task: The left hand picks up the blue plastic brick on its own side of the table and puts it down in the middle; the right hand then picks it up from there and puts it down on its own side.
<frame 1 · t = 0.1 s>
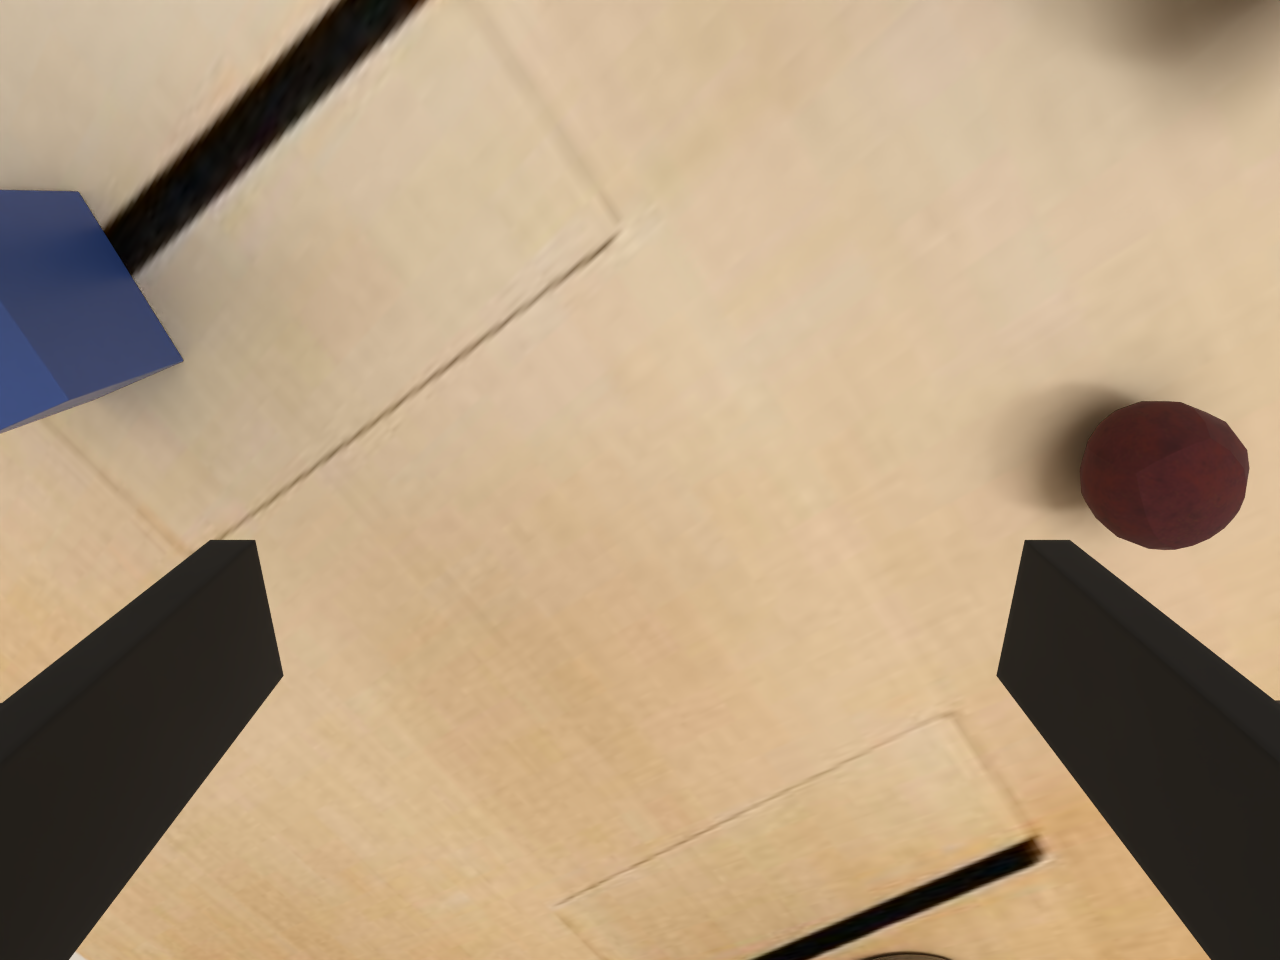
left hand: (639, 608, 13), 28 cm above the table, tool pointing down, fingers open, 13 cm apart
brick: (85, 300, 38), on the table
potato: (1116, 450, 41), on the table
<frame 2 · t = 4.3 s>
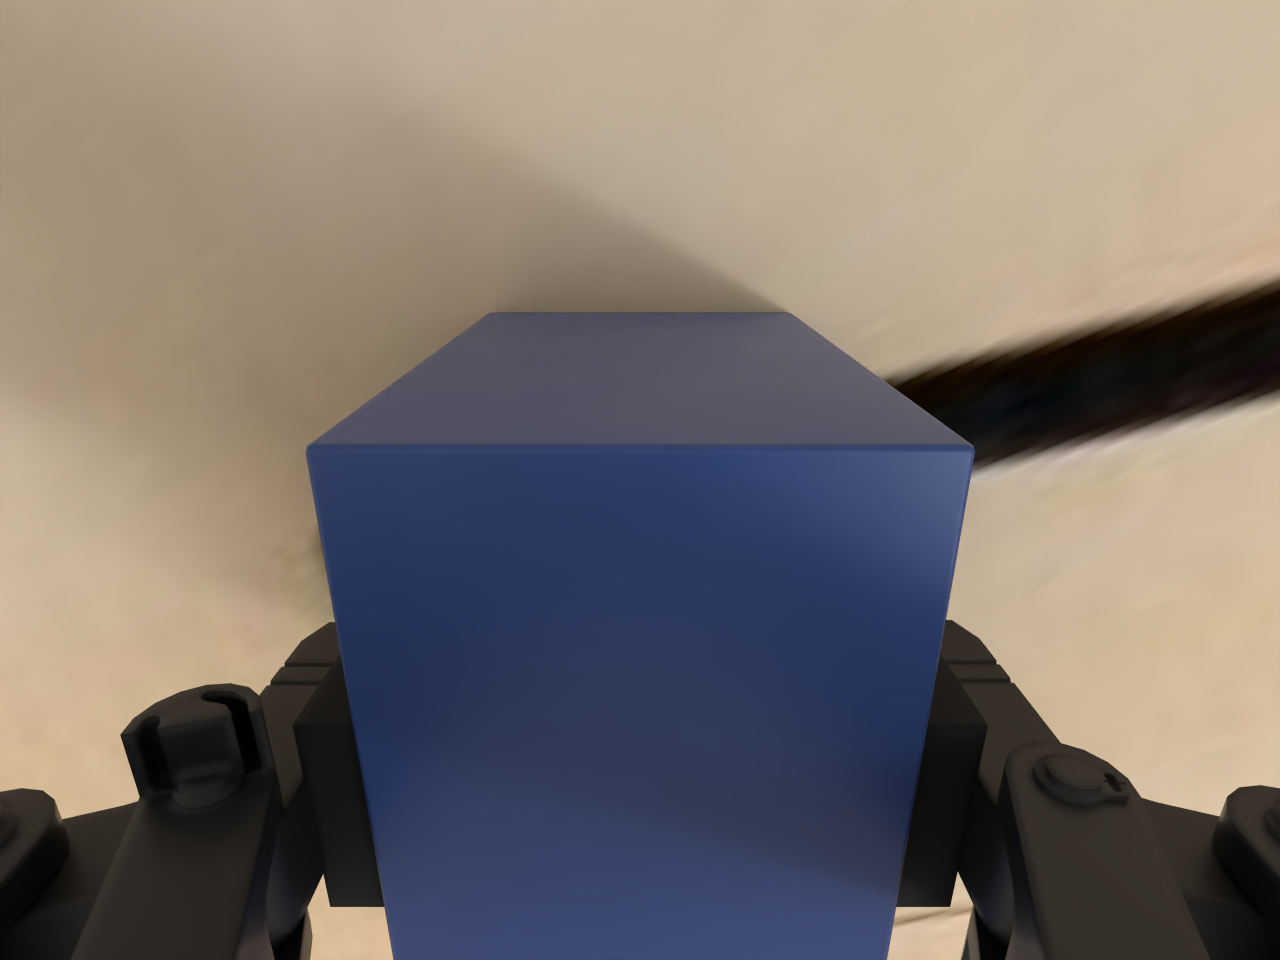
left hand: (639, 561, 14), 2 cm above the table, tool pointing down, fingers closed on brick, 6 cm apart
brick: (640, 523, 16), on the table, touching left hand
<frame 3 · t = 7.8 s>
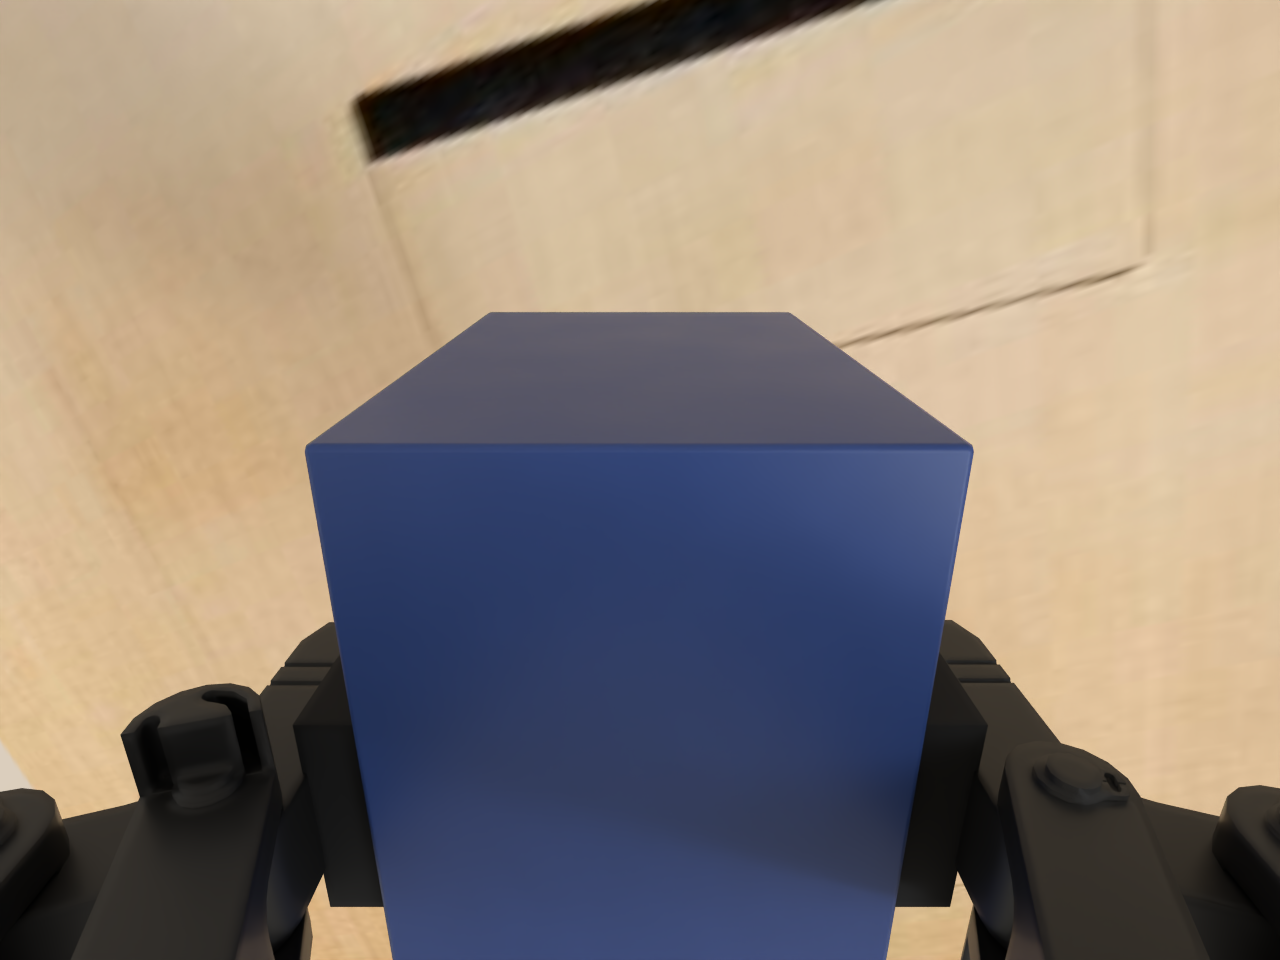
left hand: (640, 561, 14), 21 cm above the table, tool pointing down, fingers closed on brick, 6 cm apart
brick: (639, 523, 16), point 19 cm above the table, touching left hand
when the left hand's fingers open (3 cm above the table, at t = 11.3 s): brick drops 2 cm, on the table.
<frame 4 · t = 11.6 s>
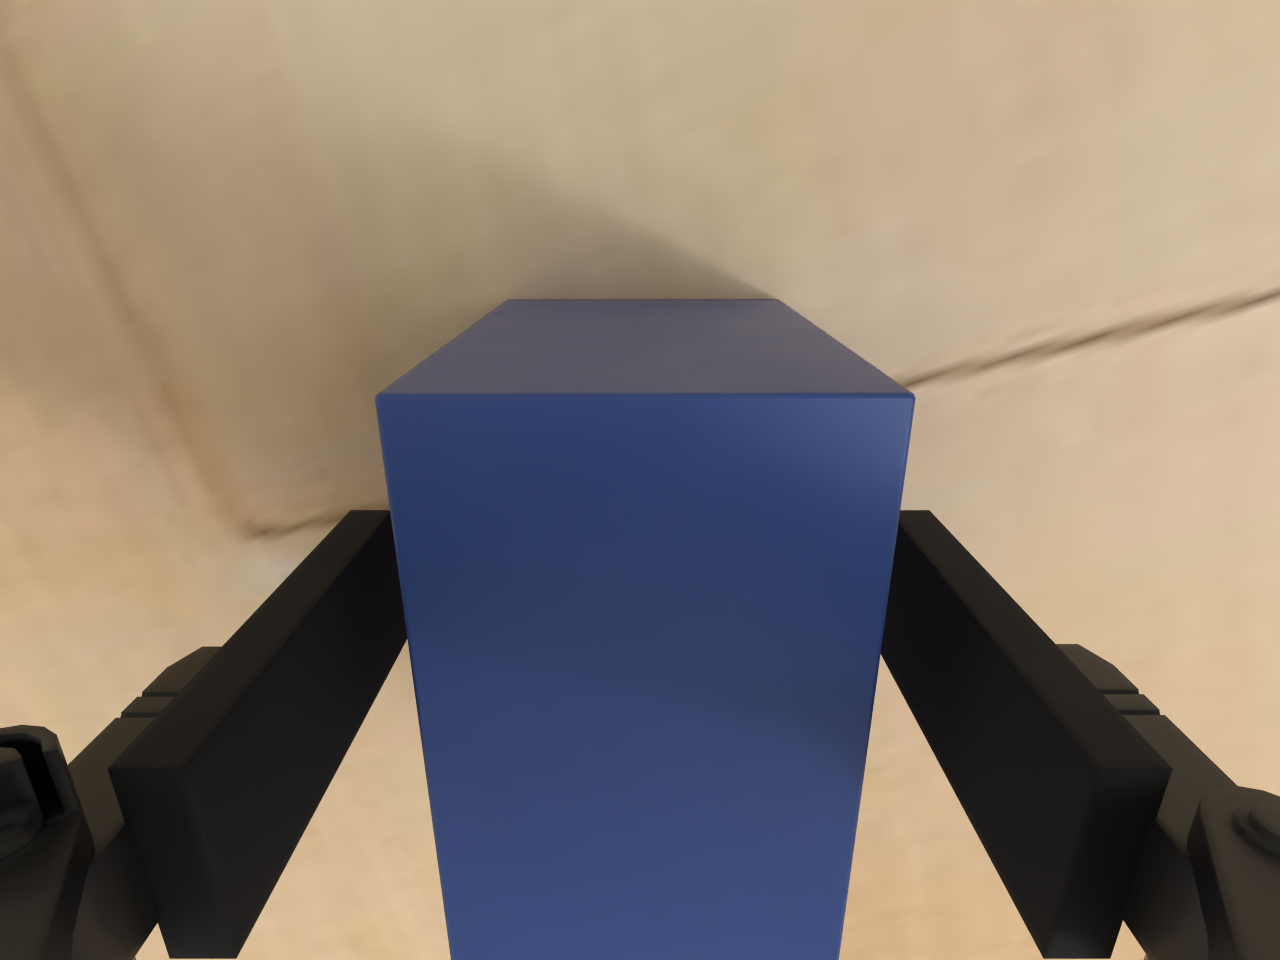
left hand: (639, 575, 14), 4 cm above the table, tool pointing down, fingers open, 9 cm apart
brick: (643, 493, 18), on the table
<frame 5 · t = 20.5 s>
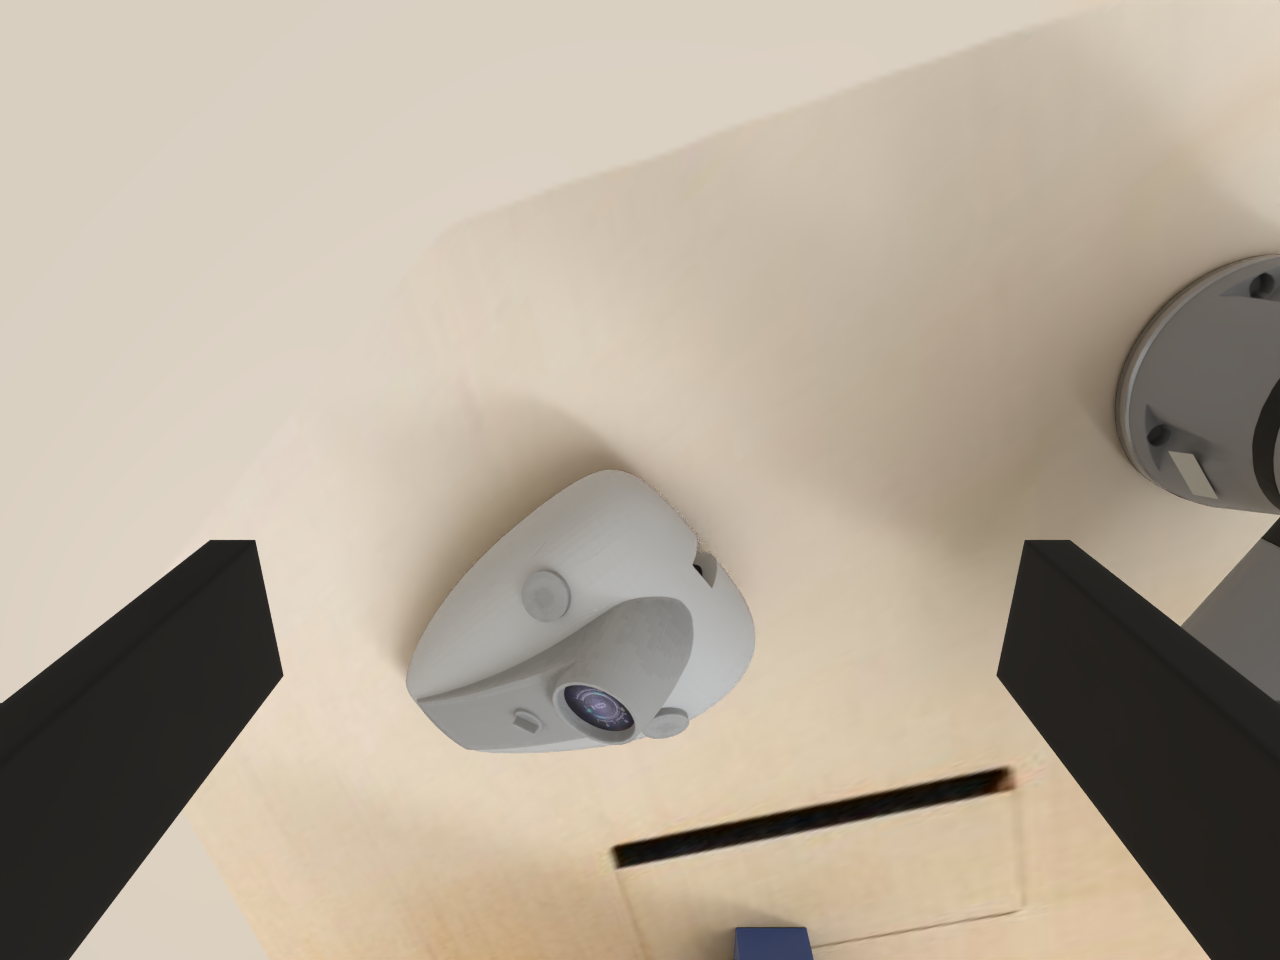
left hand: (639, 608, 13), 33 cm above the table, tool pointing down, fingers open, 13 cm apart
projector: (568, 613, 51), on the table
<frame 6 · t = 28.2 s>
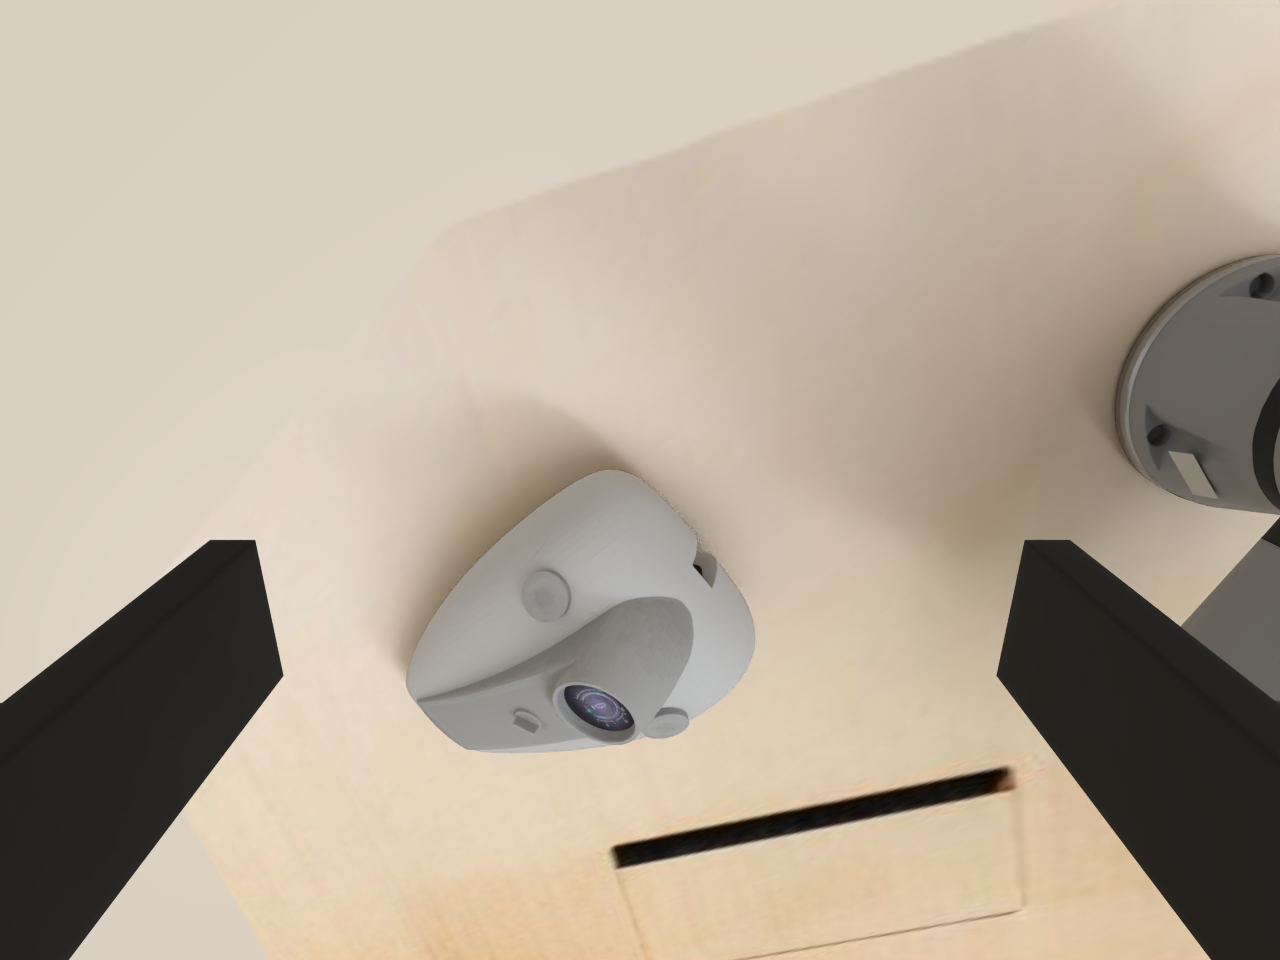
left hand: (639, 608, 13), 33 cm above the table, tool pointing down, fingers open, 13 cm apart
projector: (568, 613, 51), on the table
when the right hand's fingers open (3 cm above the table, at t = 35.8 s): brick drops 2 cm, on the table.
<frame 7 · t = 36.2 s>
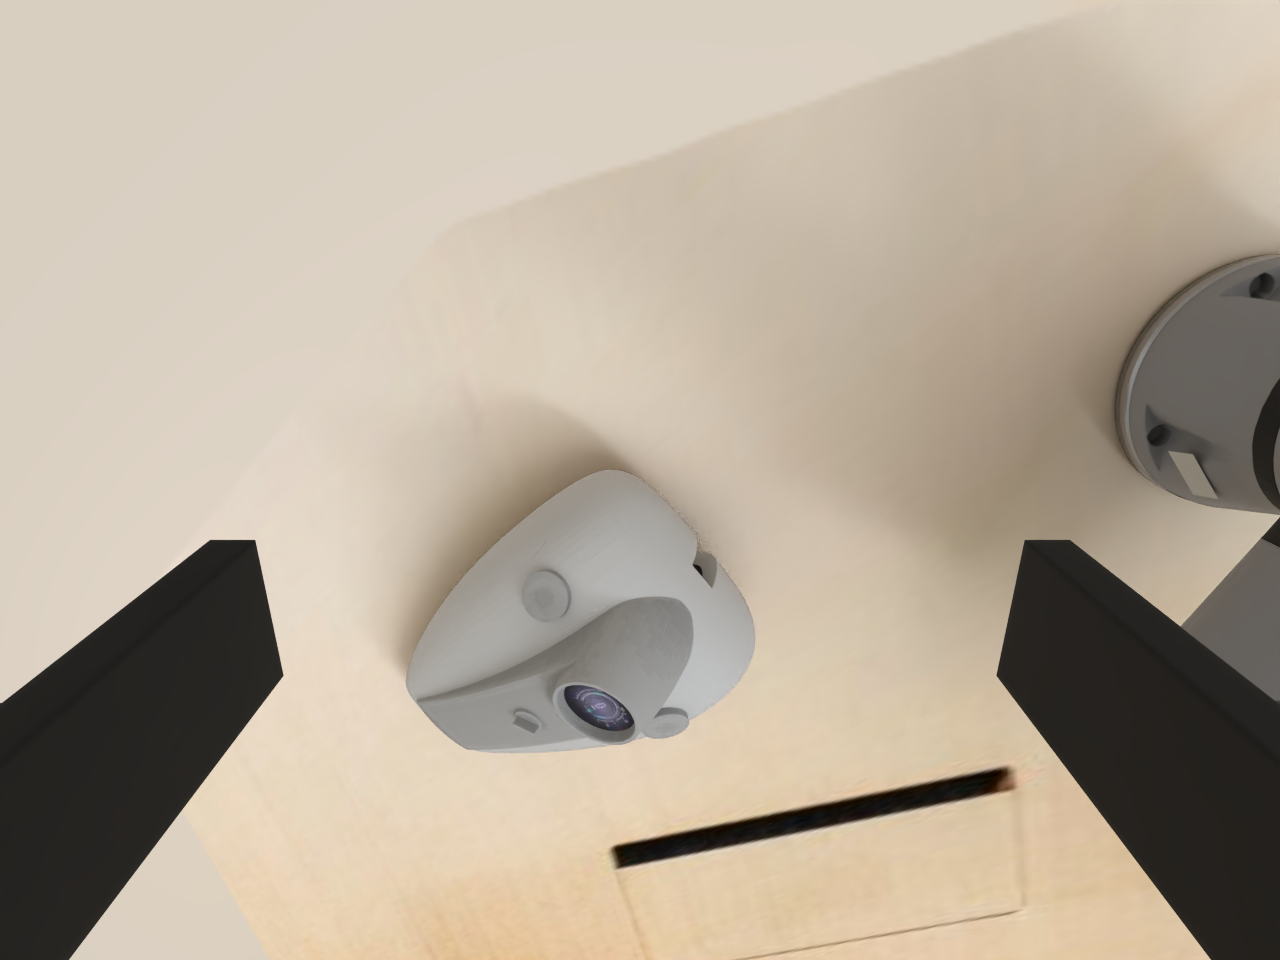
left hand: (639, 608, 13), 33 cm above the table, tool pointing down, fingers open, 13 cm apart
projector: (568, 613, 51), on the table
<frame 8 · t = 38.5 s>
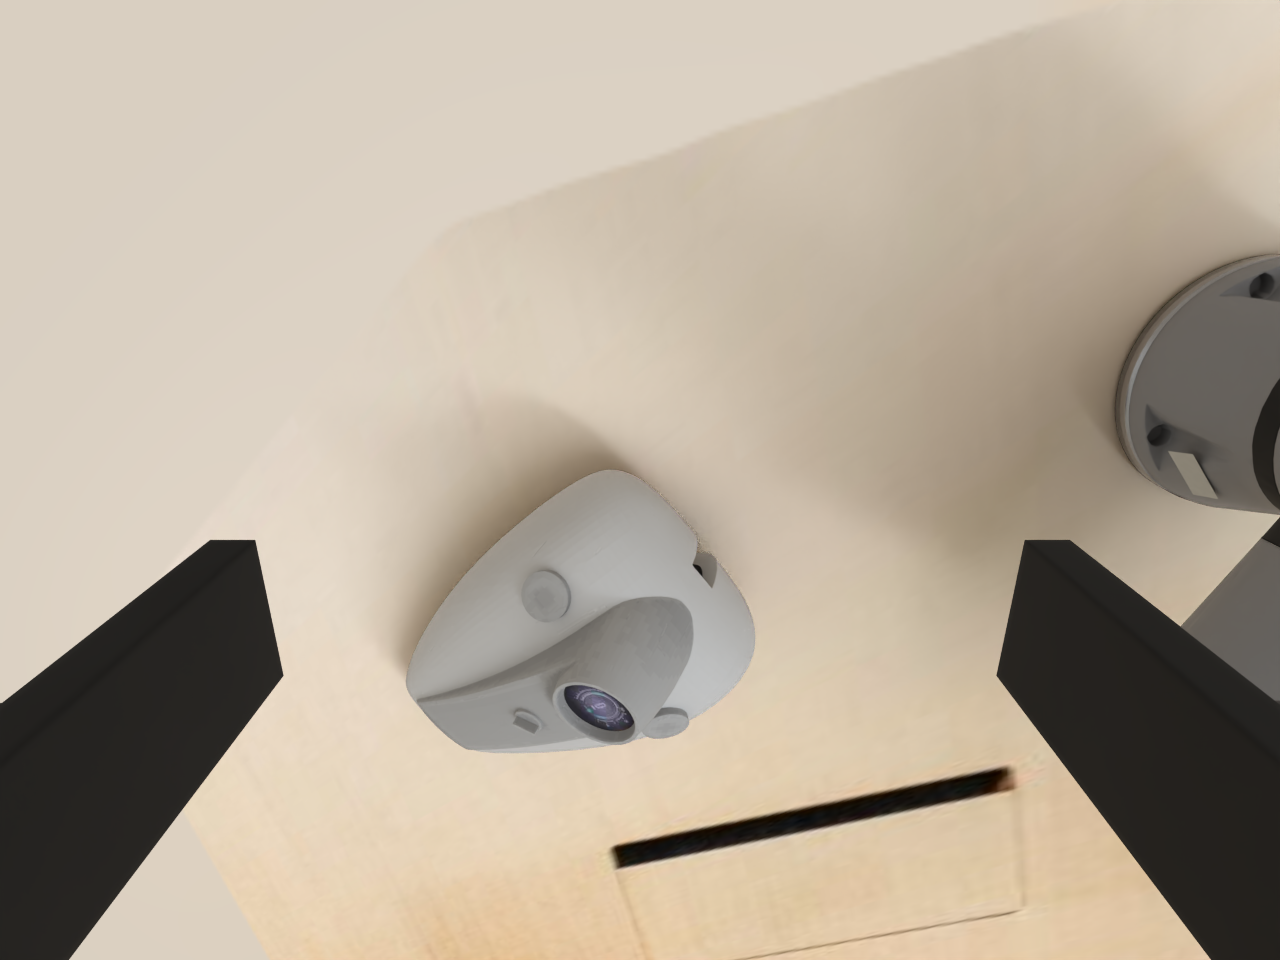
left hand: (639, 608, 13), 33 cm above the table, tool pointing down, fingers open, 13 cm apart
projector: (568, 613, 51), on the table
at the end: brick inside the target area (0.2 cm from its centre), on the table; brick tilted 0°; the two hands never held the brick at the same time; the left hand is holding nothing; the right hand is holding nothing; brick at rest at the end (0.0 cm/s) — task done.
